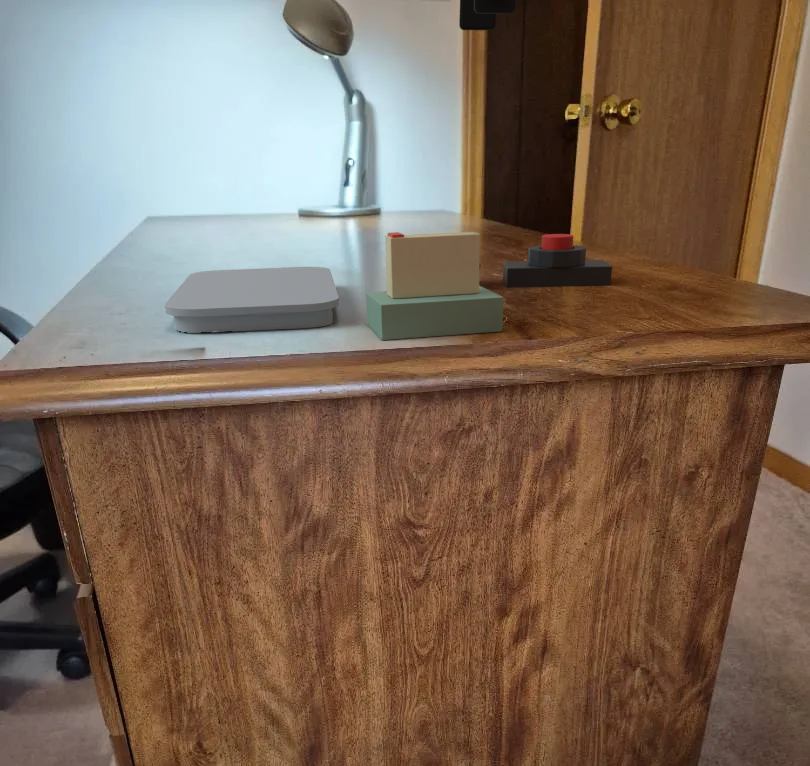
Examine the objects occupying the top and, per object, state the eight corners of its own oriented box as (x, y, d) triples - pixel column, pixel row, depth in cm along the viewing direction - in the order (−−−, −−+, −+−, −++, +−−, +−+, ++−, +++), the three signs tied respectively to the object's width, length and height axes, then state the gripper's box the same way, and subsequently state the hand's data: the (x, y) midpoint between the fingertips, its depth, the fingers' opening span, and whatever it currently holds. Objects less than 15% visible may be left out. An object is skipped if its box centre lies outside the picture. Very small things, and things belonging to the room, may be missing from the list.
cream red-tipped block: (471, 289, 73) (472, 228, 71) (479, 293, 71) (480, 231, 69) (386, 294, 71) (384, 232, 69) (392, 298, 69) (390, 235, 67)
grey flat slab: (163, 336, 72) (159, 310, 71) (195, 290, 95) (192, 271, 94) (341, 327, 74) (340, 302, 73) (330, 285, 97) (329, 265, 96)
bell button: (569, 249, 94) (571, 233, 94) (574, 252, 91) (575, 236, 90) (539, 249, 94) (540, 234, 94) (543, 253, 91) (544, 237, 90)
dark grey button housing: (600, 278, 97) (603, 243, 95) (611, 286, 91) (614, 249, 89) (502, 279, 98) (503, 245, 96) (506, 288, 92) (508, 252, 90)
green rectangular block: (478, 317, 77) (479, 285, 75) (502, 331, 70) (503, 297, 69) (367, 324, 74) (365, 292, 73) (382, 340, 68) (380, 304, 67)
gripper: (573, -308, 51) (551, 6, 59) (523, -203, 67) (511, 35, 75) (459, -311, 51) (452, 5, 59) (435, -205, 67) (432, 34, 74)
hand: (485, 21), depth 67 cm, fingers open, 9 cm apart
